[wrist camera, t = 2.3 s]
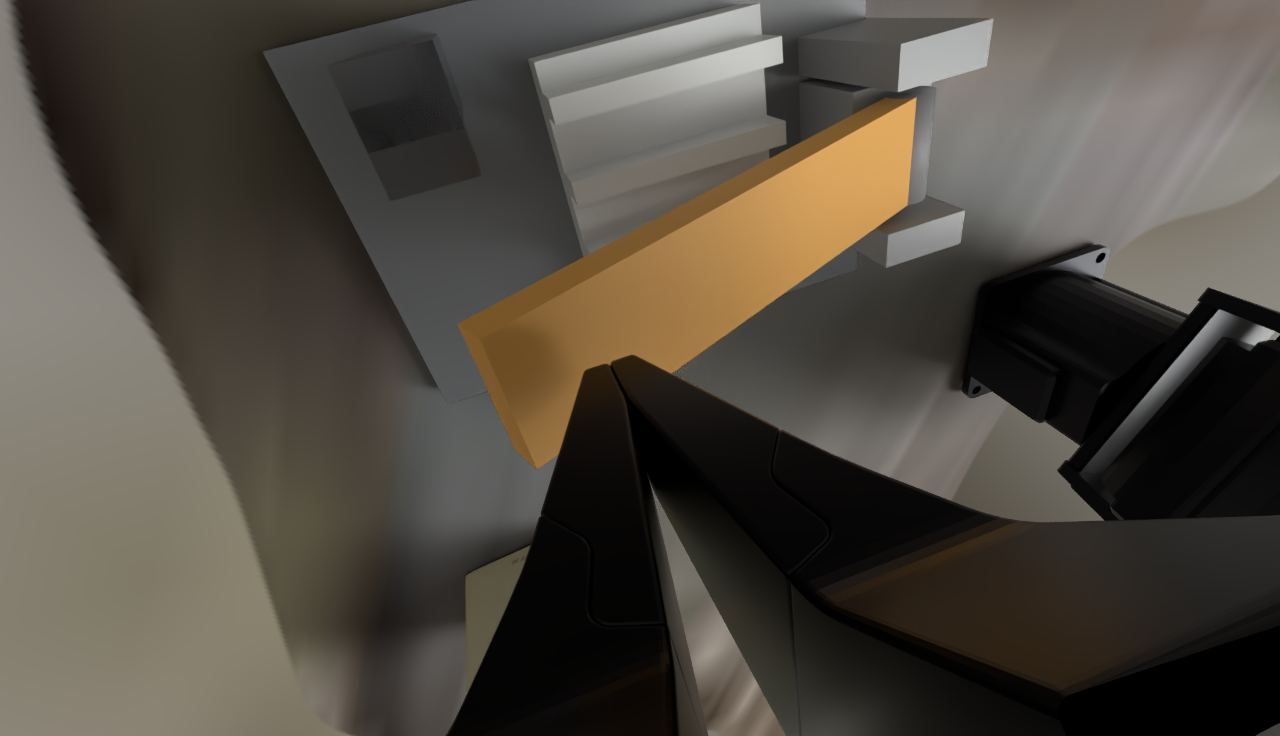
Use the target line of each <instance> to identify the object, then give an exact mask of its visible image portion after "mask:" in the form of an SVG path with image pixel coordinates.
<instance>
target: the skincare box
mask: <svg viewBox="0 0 1280 736" xmlns="http://www.w3.org/2000/svg"><path fill="white" fill-rule="evenodd" d="M529 548H530V546H528V547H526V548H523V549H521V550H519V551H517V552H514V553H512V554H510V555H508V556H506V557H503V558H501V559H499V560H496V561H494V562H492V563H490V564H487V565H485V566H483V567H481V568H479V569H477V570H475V571H473V572H471V573H469V574H468V575H467V576H466V577H465V600H466V691H467V693H468V691H469V688H470V686H471V684H472V682H473V680H474V677H475V675H476V673H477V671H478V669H479V666H480V664H481V662H482V660H483V657H484V655H485V653H486V651H487V649H488V646H489V644H490V642H491V640H492V638H493V635H494V633H495V631H496V629H497V627H498V624H499V622H500V620H501V618H502V616H503V613H504V611H505V609H506V607H507V604H508V602H509V600H510V597H511V595H512V592H513V590H514V588H515V585H516V583H517V581H518V578H519V576H520V574H521V571H522V568H523V565H524V562H525V560H526V557H527V554H528V551H529Z"/></svg>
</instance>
